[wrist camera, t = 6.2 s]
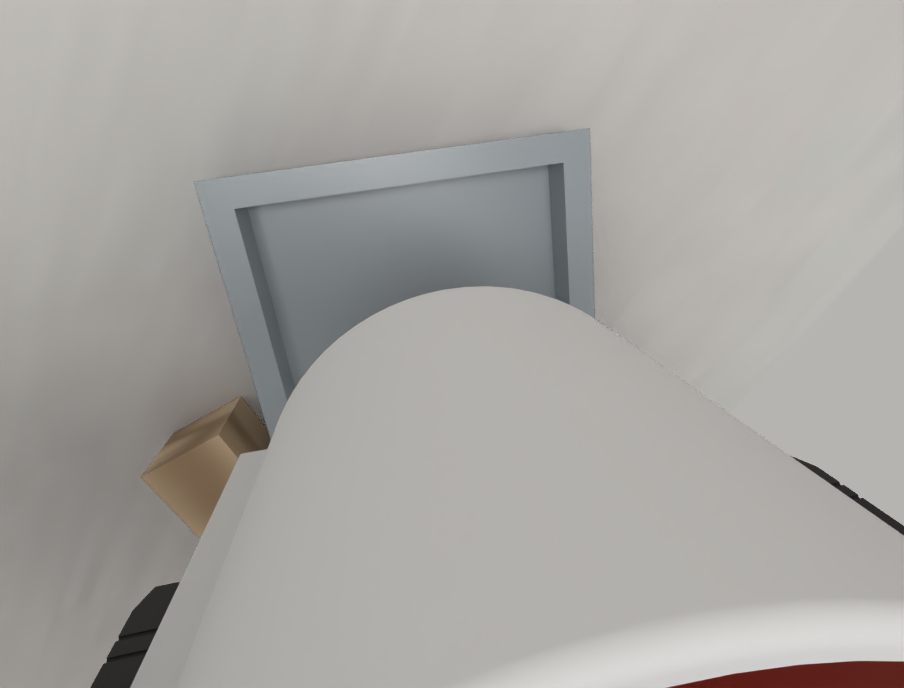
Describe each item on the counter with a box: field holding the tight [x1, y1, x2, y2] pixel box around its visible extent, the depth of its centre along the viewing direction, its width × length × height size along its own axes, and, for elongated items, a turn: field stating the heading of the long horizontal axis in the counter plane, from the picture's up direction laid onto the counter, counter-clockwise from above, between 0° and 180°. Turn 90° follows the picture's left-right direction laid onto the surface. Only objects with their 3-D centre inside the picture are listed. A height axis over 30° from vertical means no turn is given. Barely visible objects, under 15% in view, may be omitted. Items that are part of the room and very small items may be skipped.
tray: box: [194, 128, 595, 439], centre depth 24 cm, size 16×16×3 cm
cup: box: [175, 286, 904, 688], centre depth 9 cm, size 10×10×10 cm
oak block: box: [141, 396, 271, 538], centre depth 24 cm, size 4×4×4 cm
